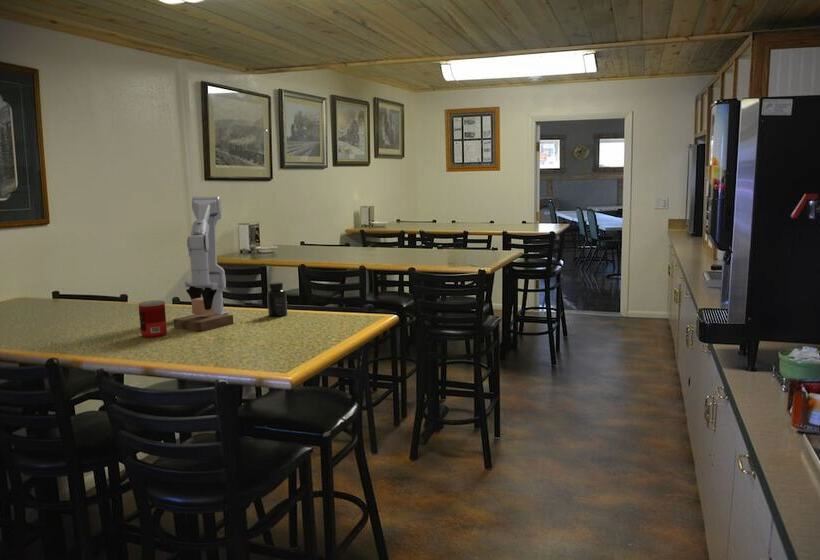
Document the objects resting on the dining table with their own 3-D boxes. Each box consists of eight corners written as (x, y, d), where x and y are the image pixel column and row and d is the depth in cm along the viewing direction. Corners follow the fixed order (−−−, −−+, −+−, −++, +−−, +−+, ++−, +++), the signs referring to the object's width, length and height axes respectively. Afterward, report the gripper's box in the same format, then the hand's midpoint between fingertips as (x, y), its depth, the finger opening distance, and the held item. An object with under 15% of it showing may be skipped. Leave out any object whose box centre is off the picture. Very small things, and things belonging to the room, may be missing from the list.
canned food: (172, 333, 222) (169, 300, 221) (155, 338, 215) (152, 304, 213) (153, 332, 225) (150, 299, 223) (136, 337, 217) (133, 304, 216)
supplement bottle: (289, 313, 251) (287, 281, 249) (284, 317, 244) (282, 284, 243) (271, 313, 252) (269, 281, 250) (266, 317, 245) (264, 284, 243)
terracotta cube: (192, 313, 232) (191, 299, 231) (203, 311, 236) (202, 297, 235) (202, 314, 229) (201, 300, 228) (213, 312, 233) (212, 298, 232)
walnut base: (173, 327, 231) (173, 319, 230) (206, 320, 243) (205, 312, 242) (201, 331, 224) (201, 322, 223) (233, 323, 235) (233, 315, 235)
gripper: (176, 270, 231) (179, 309, 233) (205, 272, 223) (208, 312, 225) (192, 267, 237) (195, 305, 239) (221, 269, 229) (224, 308, 231)
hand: (202, 308), depth 232 cm, fingers closed on terracotta cube, 5 cm apart
